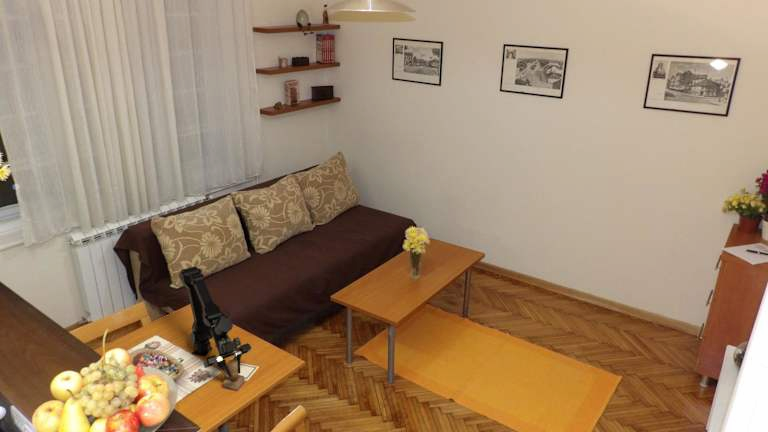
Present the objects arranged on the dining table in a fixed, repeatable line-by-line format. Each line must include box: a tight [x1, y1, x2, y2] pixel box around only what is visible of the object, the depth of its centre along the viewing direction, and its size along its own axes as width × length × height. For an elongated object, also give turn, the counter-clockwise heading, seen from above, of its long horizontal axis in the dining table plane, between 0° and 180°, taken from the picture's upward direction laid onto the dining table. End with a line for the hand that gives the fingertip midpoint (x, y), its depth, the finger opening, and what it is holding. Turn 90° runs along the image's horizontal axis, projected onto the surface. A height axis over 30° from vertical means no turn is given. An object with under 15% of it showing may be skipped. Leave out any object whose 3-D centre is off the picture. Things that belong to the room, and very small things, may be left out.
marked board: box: [225, 362, 259, 382], centre depth 236 cm, size 10×10×1 cm
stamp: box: [222, 359, 246, 392], centre depth 225 cm, size 6×6×11 cm
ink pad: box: [221, 382, 246, 392], centre depth 227 cm, size 8×7×1 cm
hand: (235, 375), depth 224 cm, fingers closed on stamp, 4 cm apart
